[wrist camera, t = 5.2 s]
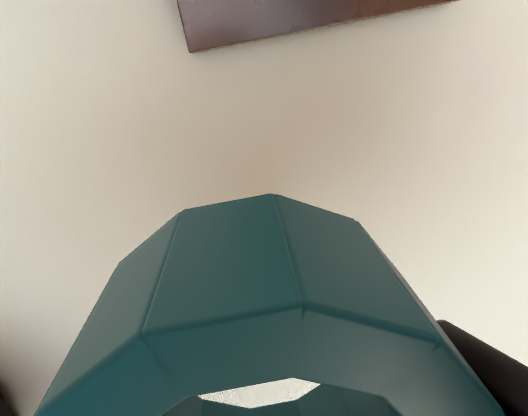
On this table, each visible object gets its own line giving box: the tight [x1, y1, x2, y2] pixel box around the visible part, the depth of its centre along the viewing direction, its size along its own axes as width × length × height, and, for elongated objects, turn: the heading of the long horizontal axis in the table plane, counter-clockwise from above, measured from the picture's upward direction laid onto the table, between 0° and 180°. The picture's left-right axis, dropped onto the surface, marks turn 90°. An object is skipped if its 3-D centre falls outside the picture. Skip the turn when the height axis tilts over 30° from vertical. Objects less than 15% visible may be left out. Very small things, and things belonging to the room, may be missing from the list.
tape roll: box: [34, 194, 505, 416], centre depth 7 cm, size 7×7×4 cm
